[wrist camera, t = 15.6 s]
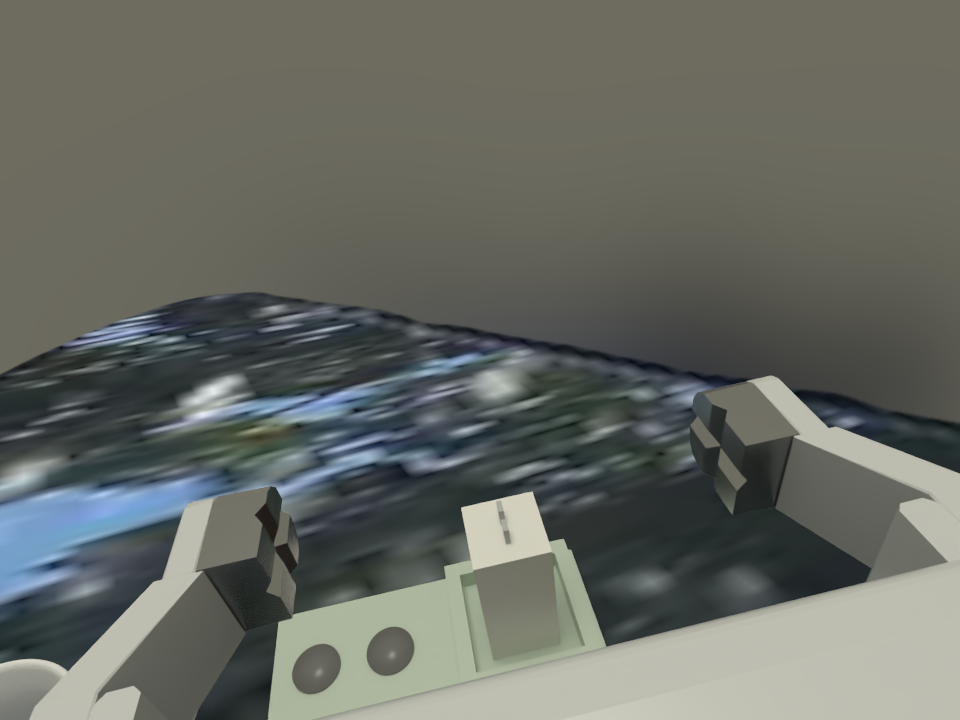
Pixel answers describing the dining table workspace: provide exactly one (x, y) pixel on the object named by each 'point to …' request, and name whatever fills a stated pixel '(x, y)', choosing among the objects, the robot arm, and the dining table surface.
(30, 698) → the mug
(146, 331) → the dining table surface
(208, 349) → the dining table surface
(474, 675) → the green desk organizer
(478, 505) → the charger
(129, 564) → the dining table surface
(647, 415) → the dining table surface
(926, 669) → the robot arm
